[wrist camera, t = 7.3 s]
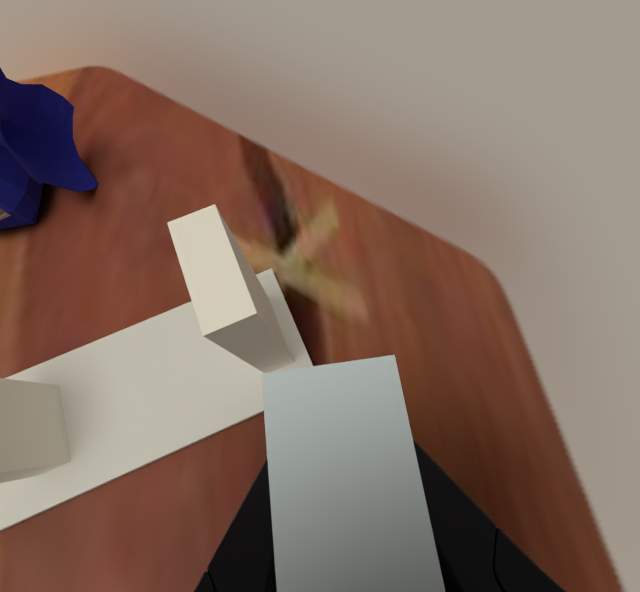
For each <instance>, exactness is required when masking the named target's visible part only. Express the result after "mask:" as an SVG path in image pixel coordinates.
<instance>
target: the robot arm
mask: <svg viewBox="0 0 640 592" xmlns="http://www.w3.org/2000/svg"><path fill="white" fill-rule="evenodd" d="M413 443H414V448H415V452H416V457H417V461H418V466H419V471H420V475H421V480H422V485H423V489H424V494H425V499H426V503H427V508H428V513H429V517H430V522H431V527H432V531H433V536H434V541H435V545H436V550H437V555H438V559H439V564H440V569H441V573H442V578H443V583H444V587H445V592H566V591H565V590H564V589H563V588H562V587H560V586H559V585H558V584H557V583H556V582H555V581H554V580H553V579H552V578H550V577H549V576H548V575H547V574H546V573H545V572H544V571H543V570H542V569H541V568H540V567H538V566H537V565H536V564H535V563H534V562H533V561H532V560H531V559H530V558H529V557H528V556H527V555H526V554H525V553H524V552H523V551H522V550H521V549H520V548H519V547H518V546H517V545H516V544H515V543H514V542H513V541H512V540H511V539H510V538H509V537H508V536H507V535H506V534H505V533H504V532H503V531H502V530H501V529H500V528H497V525H496V524H495V523H494V522H493V521H492V520H491V519H490V518H489V517H488V516H487V515H486V514H485V512H484V511H483V510H482V509H481V508H480V507H479V506H478V505H477V504H476V503H475V502H474V501H473V500H472V499H471V498H470V497H469V496H468V495H467V494H466V493H465V492H464V491H463V490H462V489H461V488H460V487H459V486H458V485H457V484H456V483H455V482H454V481H453V480H452V479H451V478H450V477H449V476H448V475H447V474H446V473H445V472H444V471H443V470H442V469H441V468H440V467H439V466H438V465H437V463H436V462H435V461H434V460H433V459H432V458H431V457H430V456H429V455H428V454H427V453H426V452H425V451H424V450H423V449H422V448H421V447H420V446H419V445H418V444H417V443H416V442H415V441H414V440H413ZM207 569H208V571H205V572H204V574H203V576H202V577H201V579H200V581H199V583H198V585H197V587H196V589H195V590H194V592H277V587H276V573H275V559H274V545H273V531H272V517H271V503H270V489H269V475H268V460H267V458H266V460H265V462H264V464H263V466H262V468H261V469H260V471H259V473H258V475H257V477H256V479H255V480H254V482H253V484H252V486H251V488H250V490H249V491H248V493H247V495H246V497H245V499H244V501H243V502H242V504H241V506H240V508H239V510H238V512H237V513H236V515H235V517H234V519H233V521H232V523H231V525H230V526H229V528H228V530H227V532H226V534H225V536H224V537H223V539H222V541H221V543H220V545H219V547H218V548H217V550H216V552H215V554H214V556H213V558H212V559H211V561H210V563H209V565H208V567H207Z"/></svg>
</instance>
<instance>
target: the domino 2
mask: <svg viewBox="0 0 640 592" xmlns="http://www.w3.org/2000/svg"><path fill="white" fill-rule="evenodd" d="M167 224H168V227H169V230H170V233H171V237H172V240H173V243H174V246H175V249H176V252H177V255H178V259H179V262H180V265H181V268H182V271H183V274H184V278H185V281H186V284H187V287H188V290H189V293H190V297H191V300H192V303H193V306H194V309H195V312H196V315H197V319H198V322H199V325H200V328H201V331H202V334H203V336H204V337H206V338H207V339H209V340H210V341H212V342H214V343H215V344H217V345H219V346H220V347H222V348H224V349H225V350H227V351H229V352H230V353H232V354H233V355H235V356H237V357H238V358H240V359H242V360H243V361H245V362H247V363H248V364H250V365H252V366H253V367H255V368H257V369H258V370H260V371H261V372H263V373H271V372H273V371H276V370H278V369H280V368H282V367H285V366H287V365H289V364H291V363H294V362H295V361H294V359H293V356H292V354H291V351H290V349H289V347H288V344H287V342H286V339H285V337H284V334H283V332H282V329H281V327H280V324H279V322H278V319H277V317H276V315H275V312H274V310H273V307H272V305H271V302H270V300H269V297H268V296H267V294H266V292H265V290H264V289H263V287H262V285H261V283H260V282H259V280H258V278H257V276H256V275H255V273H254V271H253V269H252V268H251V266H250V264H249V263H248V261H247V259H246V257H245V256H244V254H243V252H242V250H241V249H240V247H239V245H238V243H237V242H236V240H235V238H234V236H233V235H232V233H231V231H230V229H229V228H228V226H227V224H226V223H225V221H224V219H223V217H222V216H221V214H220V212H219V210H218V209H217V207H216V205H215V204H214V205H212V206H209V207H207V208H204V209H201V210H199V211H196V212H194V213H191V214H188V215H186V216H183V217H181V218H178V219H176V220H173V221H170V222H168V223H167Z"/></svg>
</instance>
